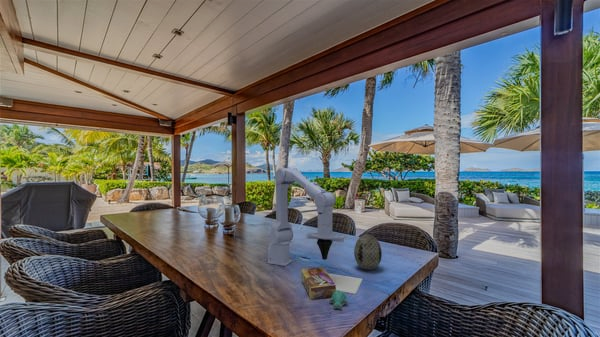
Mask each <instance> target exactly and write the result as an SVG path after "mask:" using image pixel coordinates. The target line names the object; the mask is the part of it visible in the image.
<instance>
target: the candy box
mask: <svg viewBox="0 0 600 337" xmlns="http://www.w3.org/2000/svg"><path fill="white" fill-rule="evenodd" d="M327 273H328V272H327V271H326V270H325V268H324V267H314V268H313V267H312V268H302V269H301V274H300V275H301V278H300V279H301V281H302V283H303V285H304V287H305V290H306V292H307V294H308V296H309V298H310V300H317V299H324V298H332V294H333V293H334V292H335V291H336V285H335V283H334V282H333V280H332V279H331V278H330V276H329V275H328V274H327Z"/></svg>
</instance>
